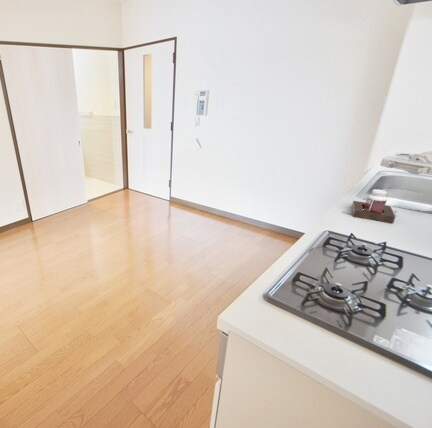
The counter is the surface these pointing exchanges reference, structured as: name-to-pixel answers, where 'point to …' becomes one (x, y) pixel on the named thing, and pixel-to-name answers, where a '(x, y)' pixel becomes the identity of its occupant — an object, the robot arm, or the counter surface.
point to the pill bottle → (376, 201)
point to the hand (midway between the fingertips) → (402, 168)
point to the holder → (372, 213)
